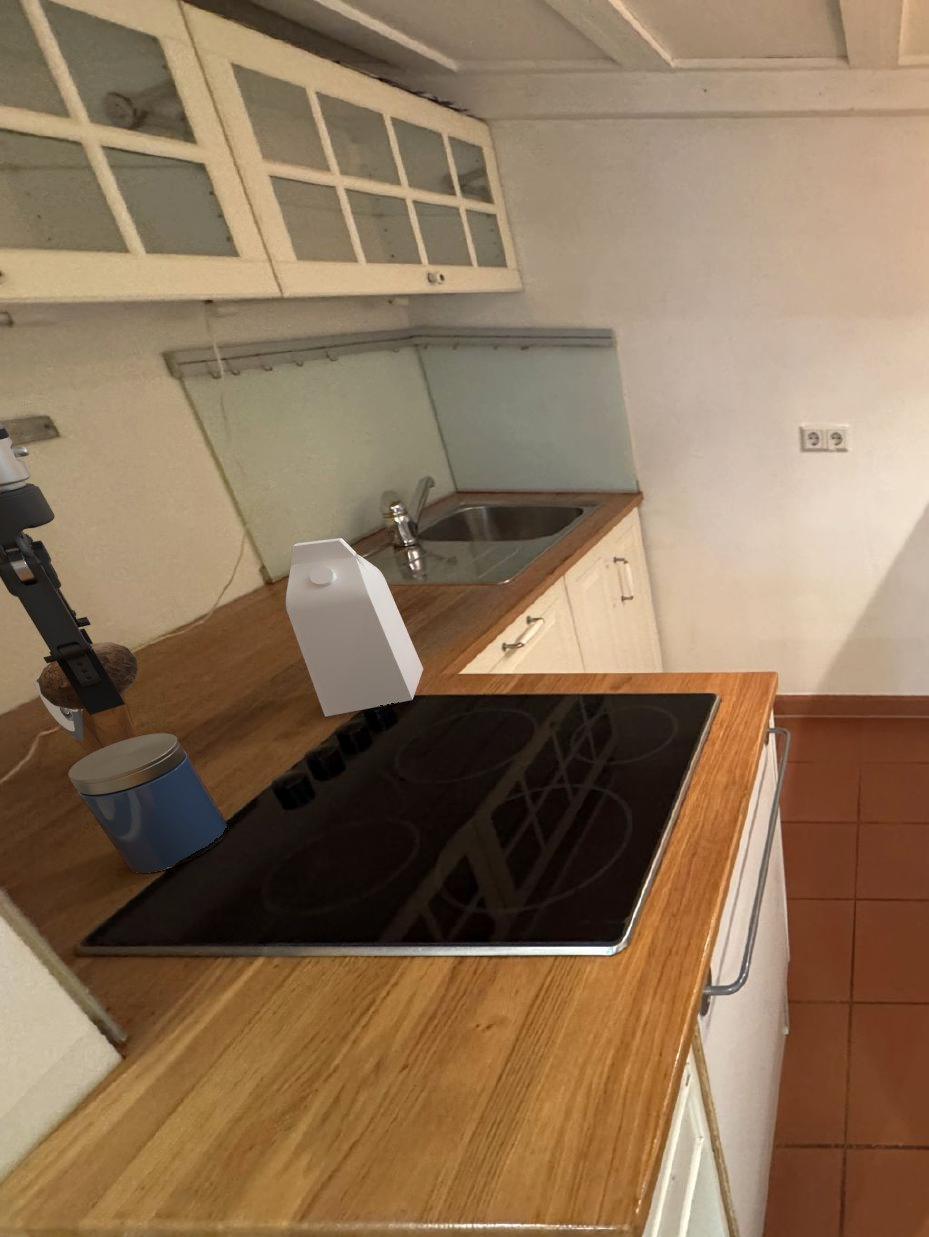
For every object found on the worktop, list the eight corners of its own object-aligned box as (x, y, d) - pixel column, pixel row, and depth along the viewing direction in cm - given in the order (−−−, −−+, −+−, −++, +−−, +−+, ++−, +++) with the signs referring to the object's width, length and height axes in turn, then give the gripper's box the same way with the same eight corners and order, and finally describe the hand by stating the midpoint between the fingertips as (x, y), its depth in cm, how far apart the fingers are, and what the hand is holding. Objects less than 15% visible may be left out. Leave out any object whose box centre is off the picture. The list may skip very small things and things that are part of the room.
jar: (134, 886, 77) (73, 796, 72) (123, 850, 83) (66, 764, 77) (236, 841, 83) (187, 755, 78) (220, 811, 89) (173, 728, 83)
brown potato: (126, 645, 80) (77, 619, 75) (179, 677, 79) (134, 653, 74) (58, 701, 77) (2, 678, 71) (112, 735, 76) (60, 714, 70)
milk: (423, 669, 122) (372, 526, 111) (412, 699, 113) (355, 547, 101) (343, 683, 118) (281, 537, 107) (325, 716, 109) (255, 559, 97)
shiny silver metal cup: (161, 744, 103) (109, 655, 96) (154, 766, 98) (98, 673, 91) (96, 762, 99) (38, 670, 93) (85, 786, 94) (22, 690, 88)
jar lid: (80, 806, 72) (70, 791, 72) (73, 774, 78) (63, 760, 77) (191, 765, 78) (183, 751, 78) (178, 738, 84) (170, 724, 83)
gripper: (43, 495, 62) (164, 711, 72) (29, 468, 74) (135, 657, 84) (-89, 515, 57) (61, 745, 67) (-82, 483, 69) (45, 682, 79)
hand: (102, 696), depth 76 cm, fingers closed on brown potato, 7 cm apart
